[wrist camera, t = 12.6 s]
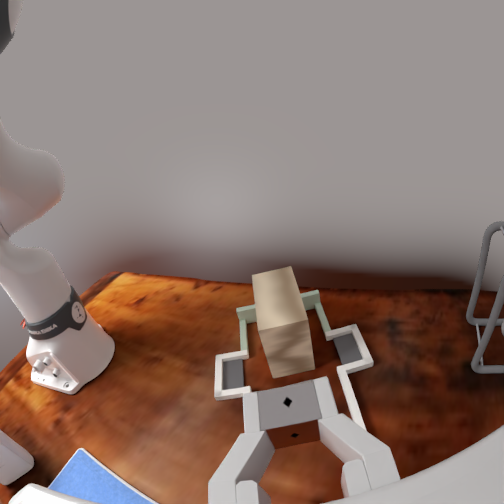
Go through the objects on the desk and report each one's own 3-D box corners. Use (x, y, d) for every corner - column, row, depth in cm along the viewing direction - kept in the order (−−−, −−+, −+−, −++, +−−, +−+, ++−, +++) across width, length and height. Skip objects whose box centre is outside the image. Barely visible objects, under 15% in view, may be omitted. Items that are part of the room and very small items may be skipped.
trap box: (216, 470, 28) (207, 463, 26) (218, 325, 51) (213, 312, 50) (400, 431, 26) (404, 421, 25) (341, 297, 50) (340, 284, 49)
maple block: (273, 378, 39) (257, 330, 34) (265, 322, 49) (251, 275, 45) (315, 369, 39) (308, 319, 34) (299, 315, 49) (291, 266, 44)
